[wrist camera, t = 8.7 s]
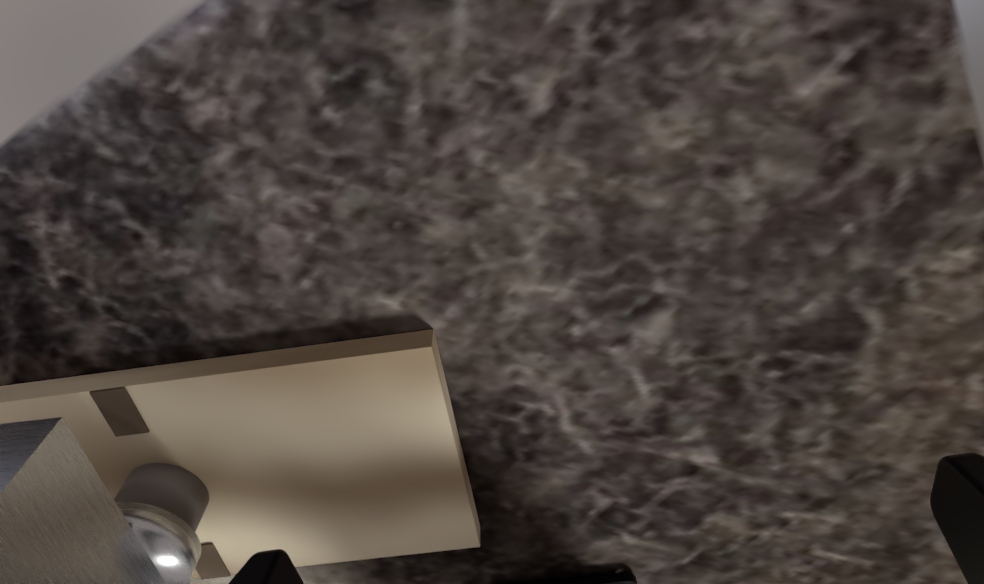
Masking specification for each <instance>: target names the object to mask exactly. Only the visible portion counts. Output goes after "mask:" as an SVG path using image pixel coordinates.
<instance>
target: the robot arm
mask: <svg viewBox="0 0 984 584" xmlns="http://www.w3.org/2000/svg"><path fill="white" fill-rule="evenodd" d="M930 503H931V509H932V512H933V515H934V517H935V519H936V521H937V523H938V525H939V527H940V529H941V531H942V533H943V535H944V537H945V539H946V541H947V543H948V545H949V547H950V549H951V551H952V553H953V555H954V557H955V559H956V561H957V563H958V565H959V567H960V569H961V571H962V573H963V575H964V577H965V579H966V581H967V583H968V584H984V456H982V455H979V454H976V453H965V454H958V455H951V456H945V457H943V458H942V459H941V460H940V461H939V463H938V467H937V471H936V475H935V480H934V484H933V488H932V492H931V498H930ZM229 584H303V581H302V579H301V577H300V576H299V574H298V572H297V570H296V568H295V567H294V565H293V563H292V561H291V559H290V557H289V556H288V554H287V553H286V552H285V551H284V550H282V549H275V550H268V551H261V552H257V553H255V554H254V555H253V556H251V557H250V558H249V560H248V561H247V562H246V563H245V564H244V566H243V567H242V568H241V569H240V570H239V572H238V573H237V574H236V575H235V577H234V578H233V579H232V580H231V581H230V583H229ZM522 584H637V580H636V577H635V576H634V575H633V574H631V573H617V574H608V575H598V576H589V577H579V578H570V579H560V580H550V581H541V582H531V583H522Z"/></svg>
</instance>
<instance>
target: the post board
mask: <svg viewBox="0 0 984 584" xmlns="http://www.w3.org/2000/svg"><path fill="white" fill-rule="evenodd" d="M57 417H63V419H64V421H65V422H66V424H67V425H68V427H69V429H70V430H71V432H72V433H73V435H74V437H75V438H76V440H77V441H78V443H79V445H80V446H81V448H82V449H83V451H84V453H85V454H86V456H87V457H88V459H89V461H90V462H91V464H92V465H93V467H94V469H95V470H96V472H97V473H98V475H99V477H100V478H101V480H102V481H103V483H104V485H105V486H106V488H107V489H108V491H109V493H110V494H111V496H112V497H113V499H114V501H115V502H124V501H125V502H139V503H145V504H150V505H153V506H157V507H159V508H162V509H165V510H167V511H169V512H171V513H173V514H175V515H176V516H178V517H180V518H181V519H182V520H184V521H185V522H186V523H187V524H188V525H190V526H191V528H192V529H193V530H194V531H195V533H196V534H197V536H198V538H199V540H200V543H201V556H200V558H199V561H198V563H197V565H196V568H195V570H194V572H193V575H192V577H191V578H199V577H201V579H209V578H218V577H227V576H230V574H236V573H238V572H239V570H240V569H241V568H242V567H243V566H244V564H245V563H246V562H247V561H248V560H249V558H250V557H251V556H253V555H254V554H255V553H257V552H261V551H268V550H275V549H282V550H284V551H285V552H286V553H287V554H288V556H289V557H290V559H291V561H292V563H293V565H294V567H300V566H309V565H318V564H328V563H337V562H346V561H355V560H364V559H374V558H383V557H392V556H401V555H410V554H419V553H429V552H438V551H447V550H456V549H465V548H475V547H480V523H479V519H478V515H477V511H476V506H475V502H474V498H473V494H472V489H471V485H470V481H469V477H468V473H467V468H466V464H465V460H464V456H463V451H462V447H461V443H460V439H459V435H458V430H457V426H456V422H455V418H454V413H453V409H452V405H451V401H450V396H449V392H448V388H447V384H446V380H445V375H444V371H443V367H442V363H441V358H440V354H439V350H438V346H437V342H436V337H435V333H434V329H431V330H423V331H416V332H408V333H401V334H393V335H385V336H378V337H370V338H363V339H355V340H347V341H340V342H332V343H325V344H317V345H309V346H302V347H294V348H286V349H279V350H271V351H264V352H256V353H248V354H241V355H233V356H226V357H218V358H210V359H203V360H195V361H188V362H180V363H172V364H165V365H157V366H150V367H142V368H134V369H127V370H119V371H112V372H104V373H96V374H89V375H81V376H74V377H66V378H58V379H51V380H43V381H36V382H28V383H20V384H13V385H5V386H0V425H1V424H4V423H13V422H22V421H31V420H39V419H48V418H57Z"/></svg>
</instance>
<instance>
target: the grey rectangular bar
mask: <svg viewBox="0 0 984 584" xmlns="http://www.w3.org/2000/svg"><path fill="white" fill-rule="evenodd" d="M200 556H201V543H200V540H199V538H198V536H197V534H196V533H195V531H194V530H193V529H192V528H191V526H190V525H188V524H187V523H186V522H185V521H184V520H182V519H181V518H180V517H178V516H176V515H175V514H173V513H171V512H169V511H167V510H165V509H162V508H159V507H157V506H153V505H150V504H145V503H139V502H125V501H124V502H115V501H114V499H113V497H112V496H111V494H110V493H109V491H108V489H107V488H106V486H105V485H104V483H103V481H102V480H101V478H100V477H99V475H98V473H97V472H96V470H95V469H94V467H93V465H92V464H91V462H90V461H89V459H88V457H87V456H86V454H85V453H84V451H83V449H82V448H81V446H80V445H79V443H78V441H77V440H76V438H75V437H74V435H73V433H72V432H71V430H70V429H69V427H68V425H67V424H66V422H65V421H64V419H63V417H57V418H48V419H39V420H31V421H22V422H13V423H4V424H1V425H0V584H189V582H190V579H191V577H192V575H193V572H194V570H195V568H196V565H197V563H198V561H199V558H200Z"/></svg>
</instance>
